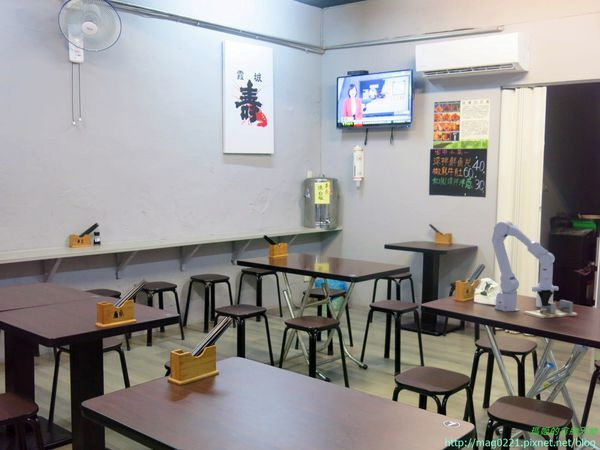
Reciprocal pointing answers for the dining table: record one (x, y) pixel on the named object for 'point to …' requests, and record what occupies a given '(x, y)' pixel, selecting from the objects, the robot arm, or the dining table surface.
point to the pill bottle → (538, 300)
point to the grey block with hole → (550, 307)
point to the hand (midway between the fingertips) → (544, 305)
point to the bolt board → (562, 310)
